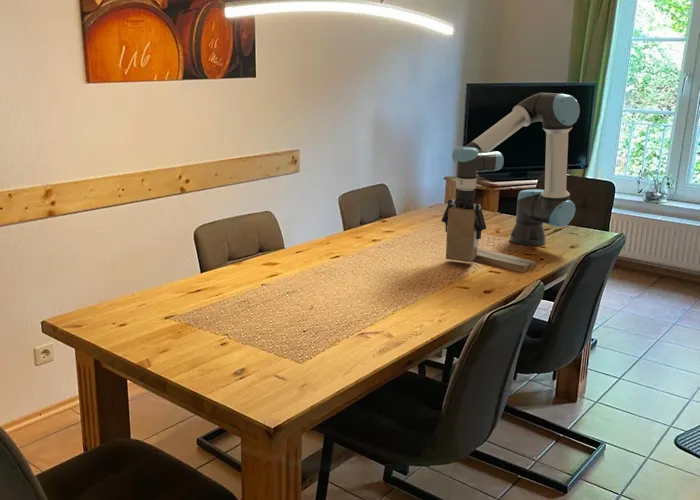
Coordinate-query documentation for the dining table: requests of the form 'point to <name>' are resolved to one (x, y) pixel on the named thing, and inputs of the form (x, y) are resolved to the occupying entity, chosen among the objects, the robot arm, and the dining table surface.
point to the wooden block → (461, 234)
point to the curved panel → (504, 260)
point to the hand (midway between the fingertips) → (462, 243)
